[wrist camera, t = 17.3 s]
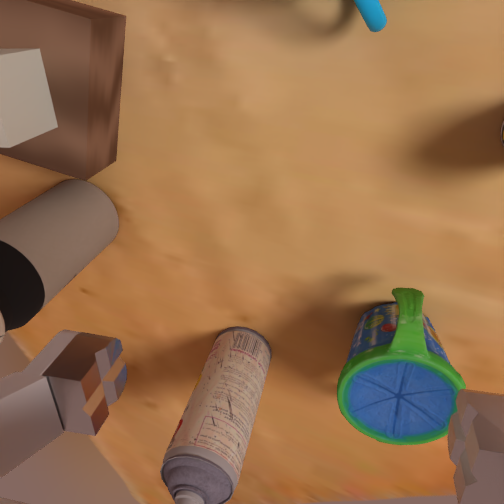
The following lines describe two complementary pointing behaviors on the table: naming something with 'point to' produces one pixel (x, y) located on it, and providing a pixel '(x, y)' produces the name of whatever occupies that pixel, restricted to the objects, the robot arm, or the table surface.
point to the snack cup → (398, 375)
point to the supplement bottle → (502, 134)
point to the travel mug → (50, 246)
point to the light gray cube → (23, 97)
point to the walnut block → (71, 80)
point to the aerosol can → (218, 420)
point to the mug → (372, 14)
